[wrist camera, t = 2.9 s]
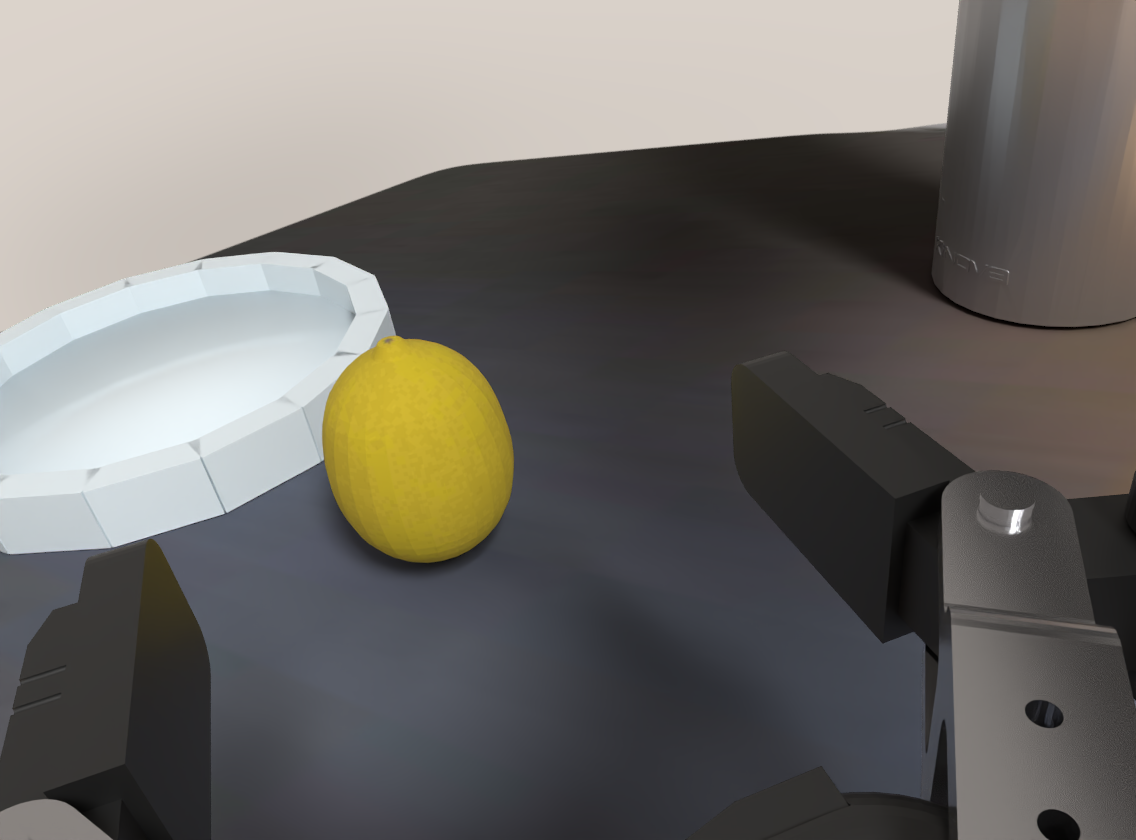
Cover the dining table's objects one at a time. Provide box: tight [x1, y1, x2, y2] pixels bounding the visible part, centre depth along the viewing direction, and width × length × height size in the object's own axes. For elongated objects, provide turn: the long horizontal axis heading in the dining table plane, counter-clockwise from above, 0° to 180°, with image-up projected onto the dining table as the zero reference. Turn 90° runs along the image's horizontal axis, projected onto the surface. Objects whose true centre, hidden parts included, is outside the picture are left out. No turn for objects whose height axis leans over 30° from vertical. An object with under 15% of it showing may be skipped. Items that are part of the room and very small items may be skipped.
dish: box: [0, 252, 396, 554], centre depth 40 cm, size 20×20×2 cm
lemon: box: [322, 336, 514, 563], centre depth 27 cm, size 6×6×8 cm
